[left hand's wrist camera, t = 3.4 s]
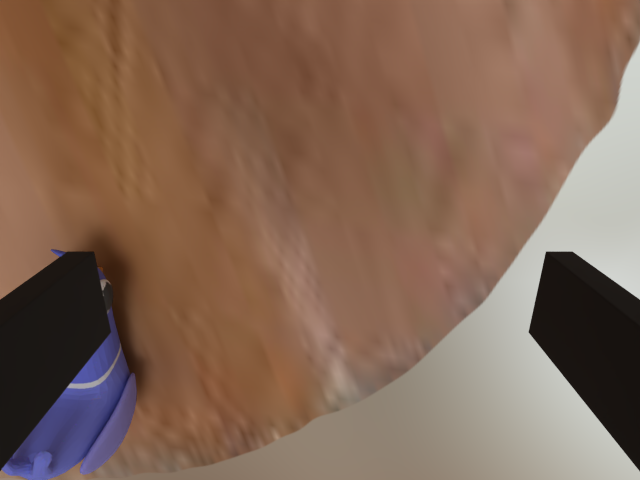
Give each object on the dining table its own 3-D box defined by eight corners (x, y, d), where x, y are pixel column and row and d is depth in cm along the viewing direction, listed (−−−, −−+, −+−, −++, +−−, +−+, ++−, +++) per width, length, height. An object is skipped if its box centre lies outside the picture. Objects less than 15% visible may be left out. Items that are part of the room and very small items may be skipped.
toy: (155, 388, 54) (150, 223, 40) (99, 539, 40) (63, 366, 26) (73, 379, 53) (40, 206, 39) (-13, 531, 39) (-113, 346, 25)
